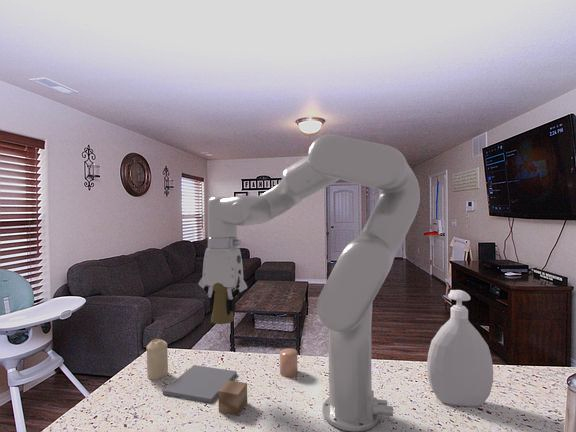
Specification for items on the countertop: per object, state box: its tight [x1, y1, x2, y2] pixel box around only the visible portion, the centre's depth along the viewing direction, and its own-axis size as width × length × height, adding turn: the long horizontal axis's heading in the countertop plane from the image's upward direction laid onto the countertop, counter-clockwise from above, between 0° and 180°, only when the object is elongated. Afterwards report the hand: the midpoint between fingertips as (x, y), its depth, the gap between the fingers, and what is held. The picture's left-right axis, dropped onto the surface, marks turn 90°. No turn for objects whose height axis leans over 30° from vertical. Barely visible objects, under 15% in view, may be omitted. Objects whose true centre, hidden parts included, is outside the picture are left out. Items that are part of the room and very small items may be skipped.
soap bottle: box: [426, 289, 494, 408], centre depth 79 cm, size 14×8×27 cm, turn 79°
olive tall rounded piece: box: [210, 283, 235, 325], centre depth 87 cm, size 6×6×11 cm
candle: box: [146, 338, 169, 380], centre depth 93 cm, size 6×6×10 cm
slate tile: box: [162, 364, 238, 404], centre depth 88 cm, size 14×14×1 cm
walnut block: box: [217, 380, 248, 416], centre depth 78 cm, size 5×5×5 cm
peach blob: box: [279, 347, 299, 378], centre depth 93 cm, size 5×5×6 cm
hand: (222, 311), depth 87 cm, fingers closed on olive tall rounded piece, 4 cm apart
